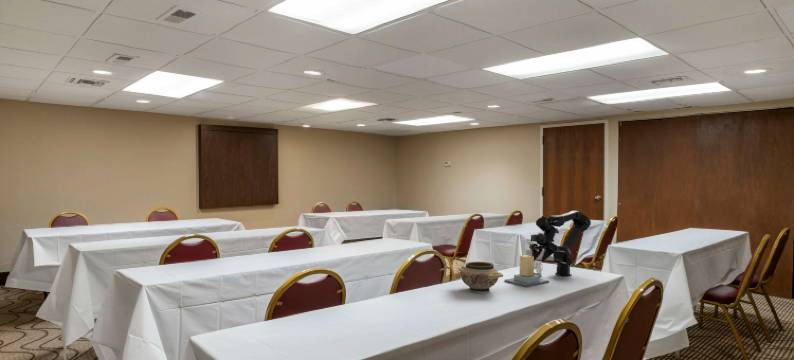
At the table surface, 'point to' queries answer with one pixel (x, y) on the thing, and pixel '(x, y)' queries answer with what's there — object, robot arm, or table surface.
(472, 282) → the ceramic bowl
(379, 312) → the table surface
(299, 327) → the table surface
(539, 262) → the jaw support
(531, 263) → the tan rectangular block
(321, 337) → the table surface
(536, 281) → the housing plate
